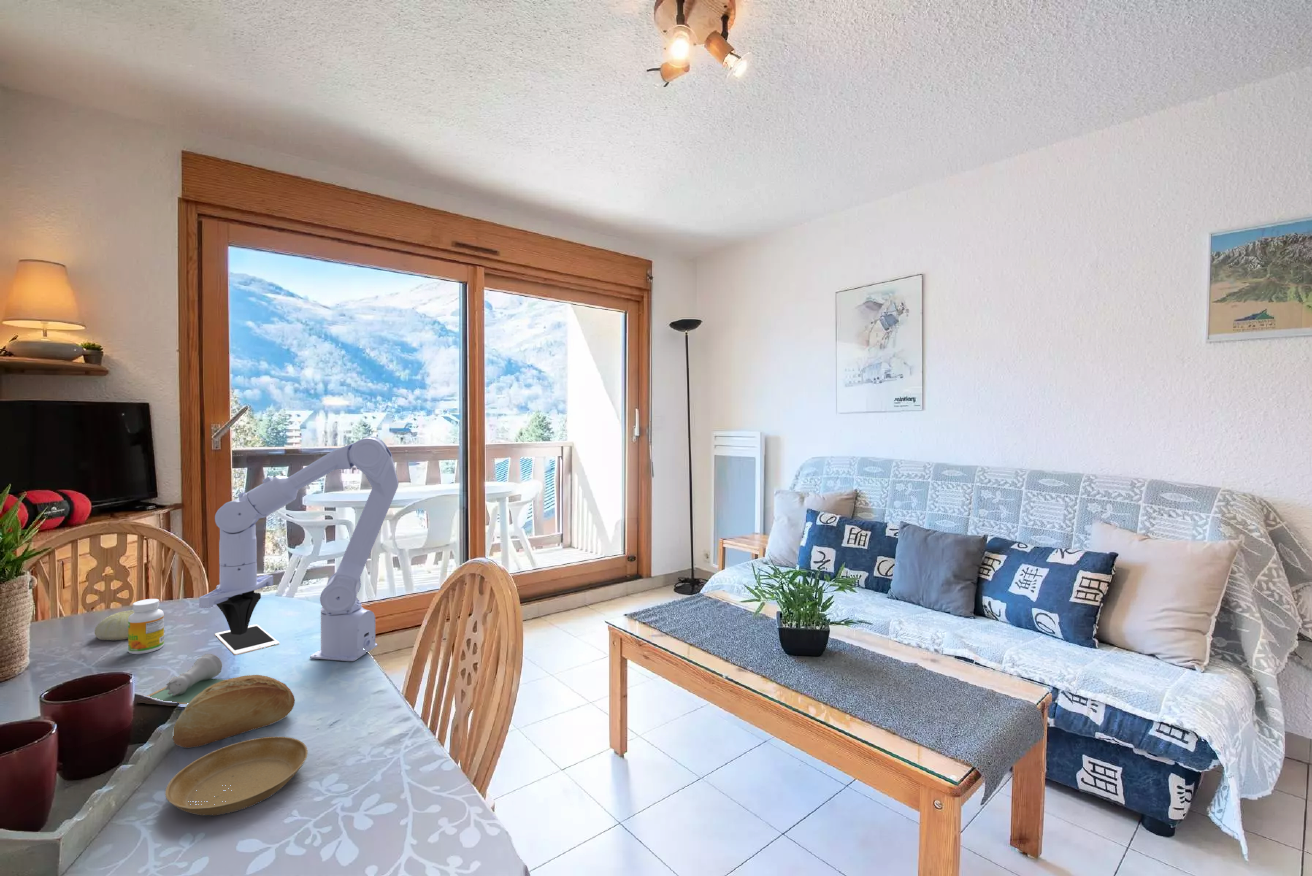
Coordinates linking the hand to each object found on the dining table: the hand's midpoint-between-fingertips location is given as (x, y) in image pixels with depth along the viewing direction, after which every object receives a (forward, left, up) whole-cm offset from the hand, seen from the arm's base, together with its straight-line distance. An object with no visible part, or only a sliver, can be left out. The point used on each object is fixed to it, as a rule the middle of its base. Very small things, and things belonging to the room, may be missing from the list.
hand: (239, 633), depth 108 cm
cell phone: (+9, -11, -7) cm, 16 cm away
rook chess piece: (0, +6, -4) cm, 7 cm away
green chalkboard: (-2, +11, -6) cm, 13 cm away
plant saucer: (-30, +32, -7) cm, 44 cm away
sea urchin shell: (+36, -9, -7) cm, 38 cm away
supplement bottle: (+24, -3, -6) cm, 25 cm away
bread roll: (-19, +20, -6) cm, 29 cm away
